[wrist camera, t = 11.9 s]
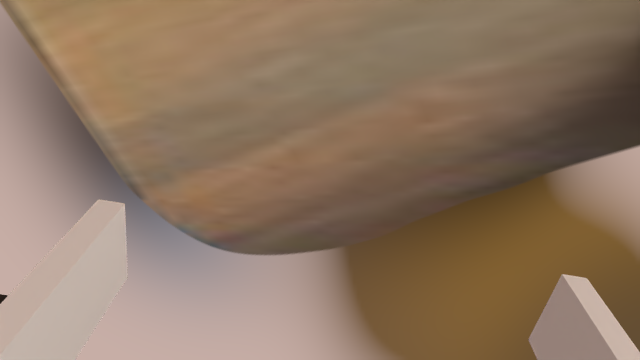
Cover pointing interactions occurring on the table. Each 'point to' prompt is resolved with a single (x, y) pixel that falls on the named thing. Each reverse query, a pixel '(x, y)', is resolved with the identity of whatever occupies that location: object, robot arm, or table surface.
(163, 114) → the table surface
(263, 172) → the table surface
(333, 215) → the table surface
